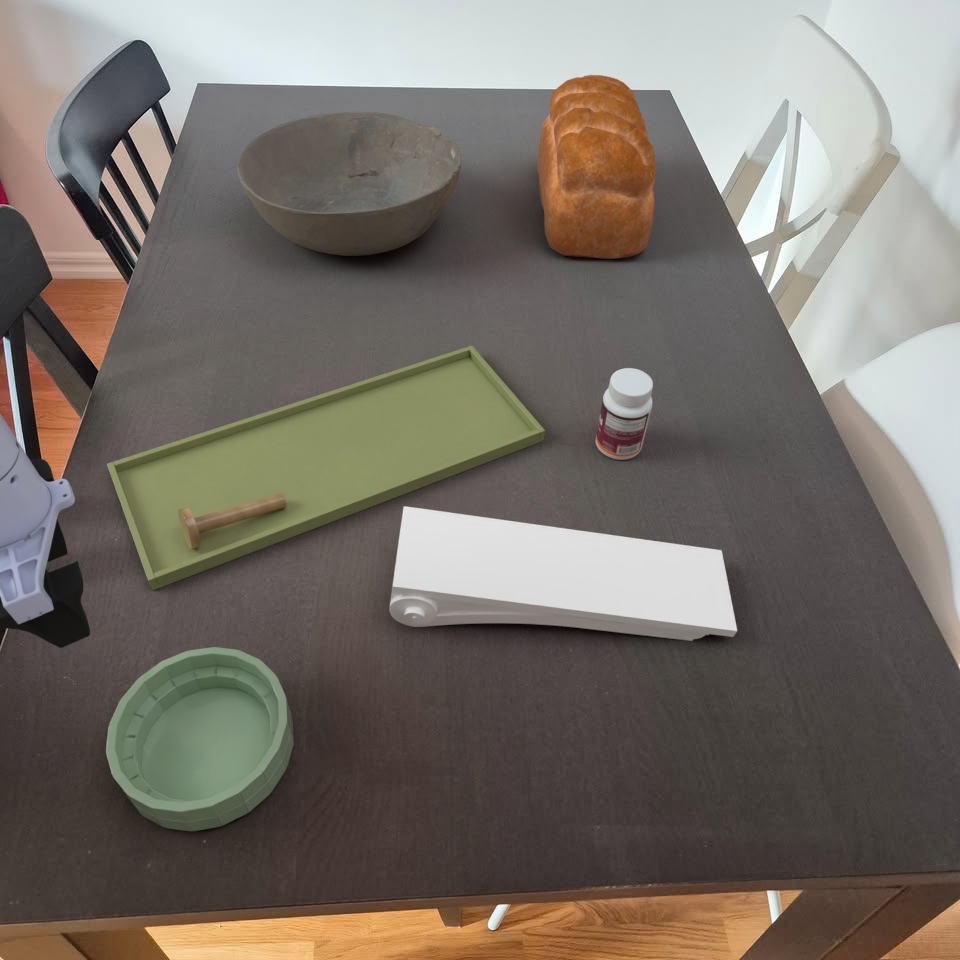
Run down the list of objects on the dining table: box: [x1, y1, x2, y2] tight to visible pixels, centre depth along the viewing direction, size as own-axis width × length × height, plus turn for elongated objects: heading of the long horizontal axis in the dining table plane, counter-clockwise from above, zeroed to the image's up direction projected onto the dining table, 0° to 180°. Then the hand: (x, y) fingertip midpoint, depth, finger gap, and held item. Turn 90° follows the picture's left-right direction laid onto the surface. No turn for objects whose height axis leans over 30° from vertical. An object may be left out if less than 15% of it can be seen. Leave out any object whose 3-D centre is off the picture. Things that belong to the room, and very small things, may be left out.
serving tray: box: [106, 345, 546, 591], centre depth 81 cm, size 39×15×2 cm, turn 119°
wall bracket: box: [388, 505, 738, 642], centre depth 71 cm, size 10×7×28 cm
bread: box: [536, 74, 656, 260], centre depth 110 cm, size 14×26×16 cm, turn 0°
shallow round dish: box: [105, 646, 295, 832], centre depth 60 cm, size 12×12×4 cm
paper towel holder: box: [178, 493, 286, 549], centre depth 74 cm, size 4×4×9 cm
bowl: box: [236, 111, 462, 257], centre depth 107 cm, size 28×28×10 cm
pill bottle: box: [595, 367, 654, 461], centre depth 81 cm, size 5×5×8 cm
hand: (62, 595), depth 57 cm, fingers open, 7 cm apart
